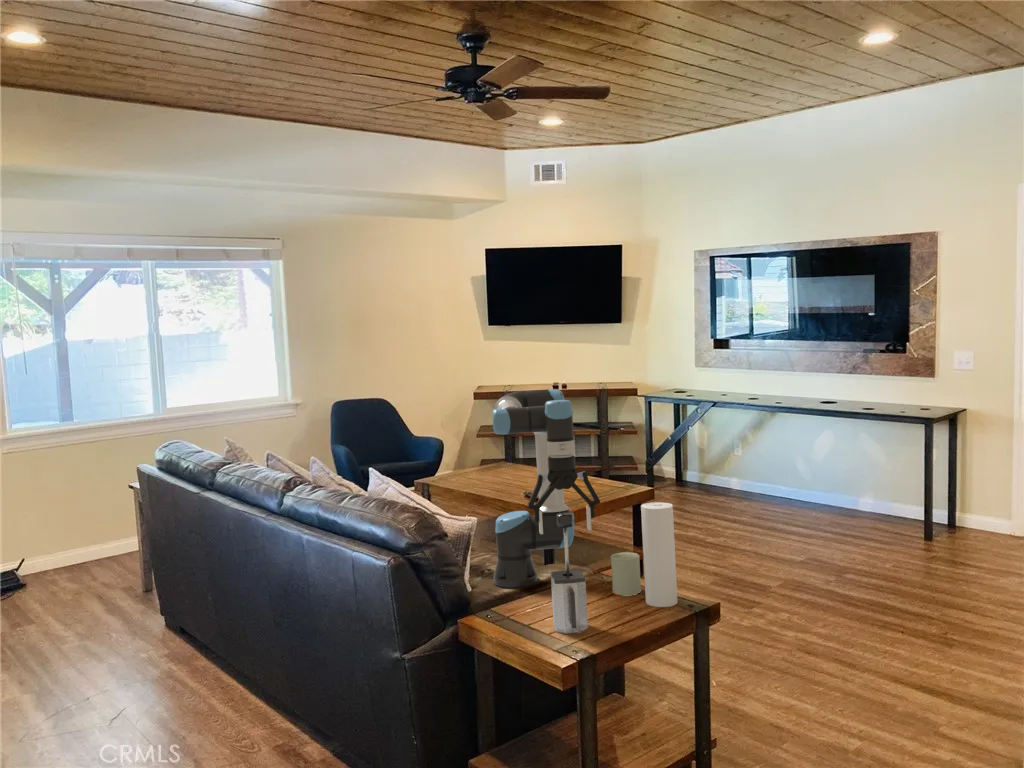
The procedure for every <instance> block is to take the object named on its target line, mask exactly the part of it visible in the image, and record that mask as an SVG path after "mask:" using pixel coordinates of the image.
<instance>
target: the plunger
mask: <svg viewBox="0 0 1024 768" xmlns="http://www.w3.org/2000/svg"><path fill="white" fill-rule="evenodd" d="M572 513H573V512H571V513H559V514H557V527H561V528H563V530H564V548H563V549H564V563H565V571H566V576H570V573H569V570H570V559H569V557H570V556H569V547H568V537H567V527H572V526H573V517H572Z"/></svg>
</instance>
